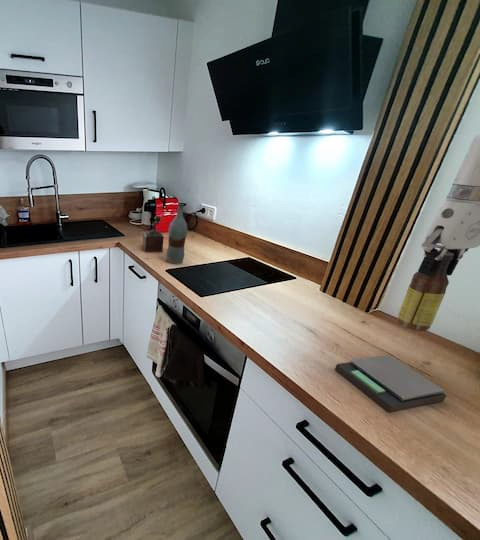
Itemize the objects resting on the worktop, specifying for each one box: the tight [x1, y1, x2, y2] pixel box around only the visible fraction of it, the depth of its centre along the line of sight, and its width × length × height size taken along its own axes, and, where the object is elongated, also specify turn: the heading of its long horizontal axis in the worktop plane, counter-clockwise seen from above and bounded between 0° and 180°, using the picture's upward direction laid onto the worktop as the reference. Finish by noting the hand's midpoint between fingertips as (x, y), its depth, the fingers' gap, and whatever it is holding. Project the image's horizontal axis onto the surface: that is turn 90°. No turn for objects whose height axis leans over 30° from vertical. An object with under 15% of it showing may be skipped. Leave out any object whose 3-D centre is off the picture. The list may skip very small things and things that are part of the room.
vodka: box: [165, 203, 188, 265], centre depth 144 cm, size 9×9×30 cm
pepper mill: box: [142, 215, 165, 253], centre depth 166 cm, size 16×11×18 cm
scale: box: [334, 361, 448, 413], centre depth 73 cm, size 17×14×3 cm
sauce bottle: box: [396, 249, 454, 332], centre depth 69 cm, size 6×6×20 cm
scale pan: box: [349, 354, 446, 401], centre depth 73 cm, size 13×13×1 cm
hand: (434, 273), depth 67 cm, fingers closed on sauce bottle, 4 cm apart
